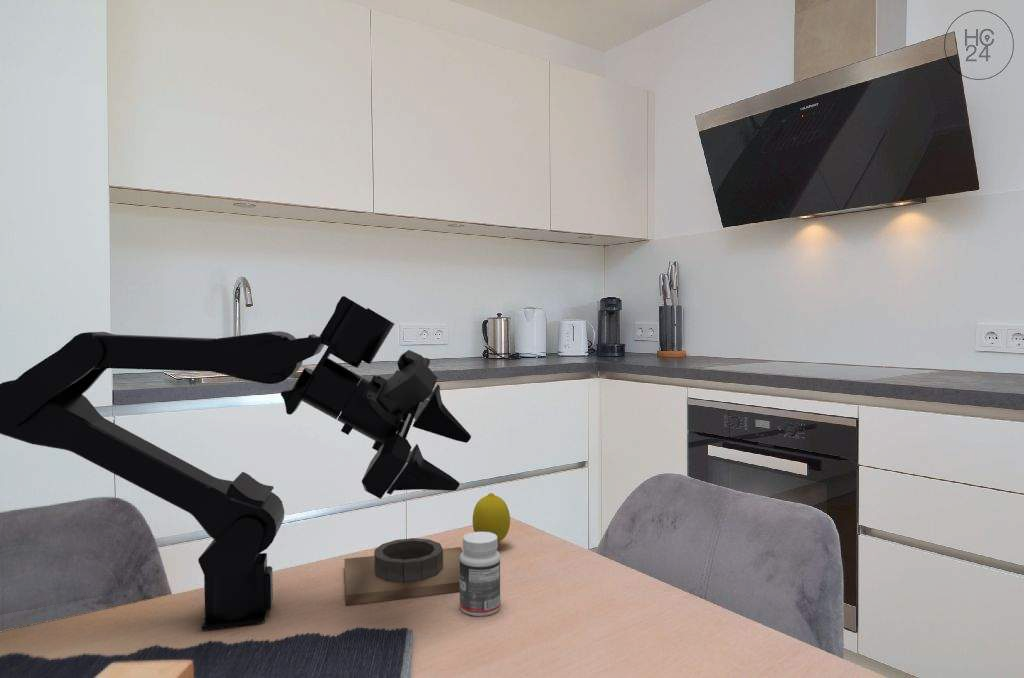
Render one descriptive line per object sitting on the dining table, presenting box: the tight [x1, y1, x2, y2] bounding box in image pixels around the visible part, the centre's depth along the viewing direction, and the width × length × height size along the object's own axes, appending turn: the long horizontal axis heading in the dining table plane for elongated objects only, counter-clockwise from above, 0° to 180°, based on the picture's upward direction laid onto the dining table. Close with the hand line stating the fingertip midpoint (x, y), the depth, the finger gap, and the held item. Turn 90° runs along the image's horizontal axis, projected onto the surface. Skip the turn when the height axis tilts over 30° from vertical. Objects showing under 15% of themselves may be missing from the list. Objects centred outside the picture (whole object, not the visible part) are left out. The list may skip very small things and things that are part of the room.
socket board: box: [343, 537, 464, 606], centre depth 83 cm, size 16×12×4 cm
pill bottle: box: [459, 531, 501, 617], centre depth 74 cm, size 5×5×8 cm
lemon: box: [472, 492, 511, 543], centre depth 94 cm, size 6×6×8 cm
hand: (464, 462), depth 77 cm, fingers open, 9 cm apart
